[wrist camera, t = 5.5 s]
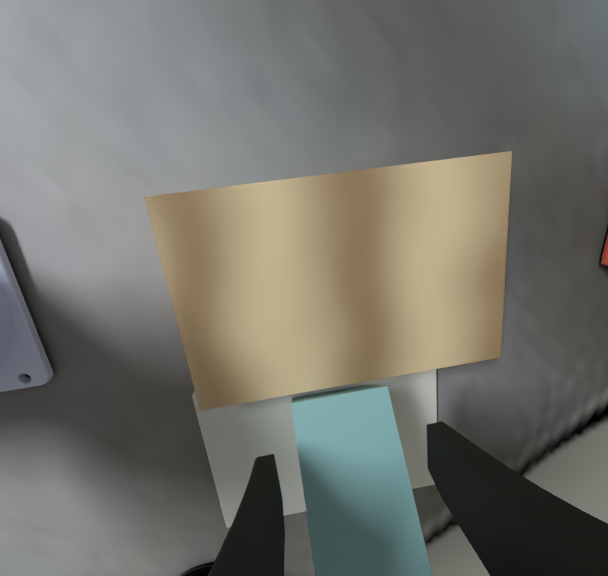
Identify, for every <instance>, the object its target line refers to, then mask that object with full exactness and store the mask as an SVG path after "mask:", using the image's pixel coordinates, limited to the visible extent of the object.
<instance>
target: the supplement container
mask: <svg viewBox="0 0 608 576" xmlns="http://www.w3.org/2000/svg"><path fill="white" fill-rule="evenodd" d="M213 564H214V563H213ZM213 564H206V565H202V566H198V567H195V568H193V569H190V570H188V571H187V572H185V573H183V574H182V575H180V576H208V574H209V572H210V570H211V568H212V566H213Z"/></svg>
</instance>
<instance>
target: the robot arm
mask: <svg viewBox="0 0 608 576" xmlns="http://www.w3.org/2000/svg"><path fill="white" fill-rule="evenodd" d="M25 374H28V375H29V376H30V377H31V379H30V378H28V377H27V376H26V375H25ZM52 377H53V370H52V368H51V365H50V363H49V360H48V358H47V355H46V353H45V350H44V348H43V345H42V343H41V340H40V338H39V335H38V333H37V330H36V328H35V325H34V323H33V320H32V318H31V315H30V312H29V310H28V307H27V305H26V302H25V300H24V297H23V295H22V292H21V290H20V287H19V285H18V282H17V280H16V277H15V275H14V272H13V270H12V267H11V265H10V262H9V260H8V257H7V255H6V252H5V249H4V247H3V244H2V242H1V239H0V392H4V391H10V390H16V389H22V388H29V387H35V386H41V385H43V384H45V383H47V382H48V381H49V380H50V379H52ZM427 466H428V470H429V472H430V474H431V476H432V479H433V481H434V483H435V485H436V487H437V489H438V491H439V493H440V495H441V497H442V499H443V500H444V502H445V504H446V505H447V507H448V509H449V510H450V512H451V513H452V515H453V517H454V518H455V520H456V521H457V523H458V525H459V526H460V528H461V529H462V531H463V533H464V534H465V536H466V537H467V539H468V541H469V542H470V544H471V545H472V547H473V549H474V550H475V552H476V553H477V555H478V557H479V558H480V560H481V561H482V563H483V565H484V566H485V568H486V569H487V570H488V573H489V574H490V576H608V524H607V523H605V522H603V521H601V520H599V519H597V518H595V517H593V516H591V515H589V514H587V513H586V512H583V511H581V510H580V509H578V508H576V507H574V506H573V505H571V504H569V503H567V502H565V501H564V500H562V499H560V498H558V497H556V496H554V495H553V494H551V493H549V492H548V491H546V490H544V489H542V488H541V487H539V486H537V485H536V484H534V483H533V482H531V481H529V480H528V479H526V478H524V477H523V476H521V475H520V474H518V473H516V472H515V471H513V470H512V469H510V468H509V467H507V466H506V465H504V464H502V463H501V462H499V461H498V460H496V459H495V458H494V457H492V456H491V455H489V454H488V453H486V452H485V451H483V450H482V449H480V448H479V447H478V446H476V445H475V444H473V443H472V442H470V441H469V440H468V439H466V438H465V437H463V436H462V435H461V434H459V433H458V432H456V431H455V430H454V429H452V428H451V427H449V426H448V425H447V424H445V423H444V422H437V423H432V424H427ZM284 542H285V529H284V514H283V499H282V493H281V488H280V482H279V477H278V472H277V467H276V461H275V456H274V454H270V455H265V456H260V457H257V458H256V459H255V461H254V465H253V468H252V472H251V475H250V478H249V481H248V484H247V487H246V490H245V493H244V495H243V498H242V501H241V503H240V506H239V508H238V511H237V513H236V516H235V518H234V521H233V523H232V525H231V528H230V530H229V532H228V534H227V536H226V539H225V541H224V543H223V545H222V548H221V550H220V552H219V554H218V556H217V558H216V560H215V562H214V564H213V566H212V568H211V570H210V572H209V574H208V576H284Z"/></svg>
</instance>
